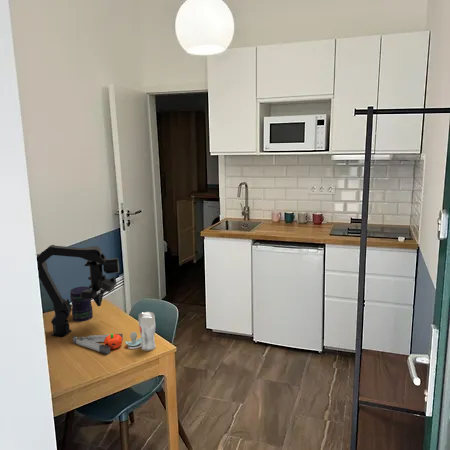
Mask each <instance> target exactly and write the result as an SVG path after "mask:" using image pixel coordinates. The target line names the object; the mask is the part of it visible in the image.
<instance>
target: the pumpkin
mask: <svg viewBox="0 0 450 450" xmlns="http://www.w3.org/2000/svg"><path fill="white" fill-rule="evenodd" d="M117 334H118V333H111V334H108V335H109V336H107V337H106V338H105V339H104V342H103V345H106V346H109V347H110V350H114V349H118V348H120V346H121V345H122V343H123V340H122V337H121V336H120V335H117Z"/></svg>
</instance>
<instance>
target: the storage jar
mask: <svg viewBox="0 0 450 450" xmlns="http://www.w3.org/2000/svg"><path fill="white" fill-rule="evenodd" d="M86 289H90V290H91V288H89V286H78V287H74V288H71V289H70V290H69V293H70V295H69V297H70V303H71V305H72V307H71V308H72V310H71V315H72V321H74V322H78V323H82V322H88V321H90V320H91V319H93V317H94V315H93V312H94V311H93V305H92V299H87V298H81V294H80V293H81V292H82V291H84V290H86Z"/></svg>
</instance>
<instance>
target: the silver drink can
mask: <svg viewBox="0 0 450 450" xmlns="http://www.w3.org/2000/svg"><path fill="white" fill-rule="evenodd" d="M155 317H156V315H155V313H154V312H151V311H144V312H141V313H139V314H138V329H139V334H140V338H142V342H141V344H142V345H141V347H140V348H141V350H142V351H145V352H147V351H148V352H150V351H152V350H155V349H156V347H157V346H156V345H157V344H156V341H155V334H156V318H155Z"/></svg>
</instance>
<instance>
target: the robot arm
mask: <svg viewBox="0 0 450 450" xmlns="http://www.w3.org/2000/svg"><path fill="white" fill-rule="evenodd" d="M52 256H56V257H57V256H61V257H69V258H70V257H72V258H80V259H83V260H85V261H86V262H85V263H84V267H89V277H87V278H88V280H90V284H89V285H88V287H89V288H90V289H86V290H84V291H82V292H81V293H80V294H81V298H87V299H91V300H93V301H94V302H95V305H96V306H97V307H100V306H101V305H102V302H103V297H104V295H105V293H106V292H109V293H110V292H112V291H113V290H114V289H115V287H116V286H117V279H116V278H115V277H114V276H113V277H111V278H108V279H107V277H106V275H105V274H118V273H120V262H119V258H118V257H114V258H107V257H106V256H105V254H104V253H103V251H102V249H101V248H100V246H98V245H96V246H95V245H94V246H86V247H73V246H65V245H64V246H63V245H55V244H51V245H49V246H48V247H47V248H45V249H44V250H43V251H41V252H40V253H37V261H38V270H39V277H38V278H39V280H40V282H41V284H42V286H43V288H44V289H45V291H46V293H47V295H48V297H49V299H50V300H51V302H52V306H53V311H54V315H53V317H52V319H51V322H50V323H51V325H52V331H53V332H52V333H51V334H50V335H51V336H53V337H60V338H63V337H65V336H67V335H68V334H70V333H71V332H72V330H71V329H70V324H69V320H68V318H69V317H70V315H71V314H72V303H71V302H70V301H69V300H70V299H68V298H67V299H65V298H63V297H62V295H61V293H60V291H59V289H58V287H57V286H56V284H55V281H54V280H53V279H52V277H51V274H50V272H49V270H48V264H47V260H49V259H50V258H51V257H52ZM104 273H105V274H104Z"/></svg>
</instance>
